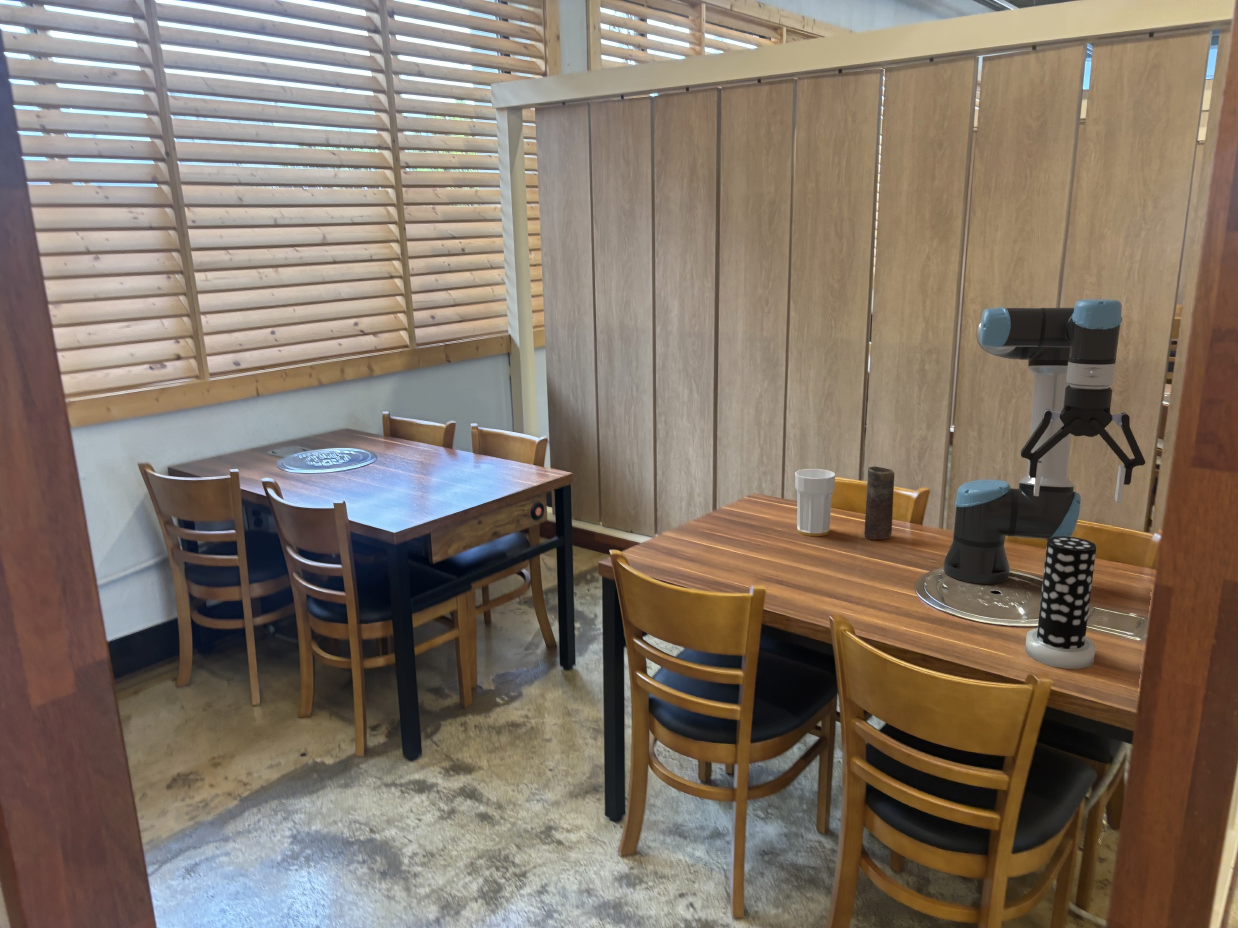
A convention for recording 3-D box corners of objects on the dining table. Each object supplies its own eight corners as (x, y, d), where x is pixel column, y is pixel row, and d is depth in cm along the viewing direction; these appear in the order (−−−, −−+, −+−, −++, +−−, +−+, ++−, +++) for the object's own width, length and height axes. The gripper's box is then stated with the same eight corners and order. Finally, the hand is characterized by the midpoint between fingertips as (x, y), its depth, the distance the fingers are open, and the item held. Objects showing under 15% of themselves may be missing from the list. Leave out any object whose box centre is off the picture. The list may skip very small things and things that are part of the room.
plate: (1026, 662, 160) (1027, 647, 160) (1024, 637, 171) (1025, 622, 170) (1096, 673, 155) (1098, 658, 155) (1090, 646, 166) (1092, 632, 165)
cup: (837, 537, 235) (839, 478, 231) (797, 537, 235) (799, 478, 231) (828, 524, 246) (830, 468, 242) (789, 525, 246) (791, 469, 242)
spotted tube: (1028, 631, 166) (1038, 537, 161) (1067, 629, 167) (1078, 535, 162) (1052, 650, 158) (1063, 551, 153) (1094, 647, 159) (1106, 549, 154)
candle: (869, 531, 239) (873, 464, 234) (895, 535, 235) (899, 467, 230) (860, 538, 233) (863, 469, 228) (886, 543, 229) (890, 473, 224)
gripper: (1013, 386, 152) (1003, 496, 157) (1173, 391, 142) (1157, 509, 147) (1013, 380, 159) (1003, 486, 164) (1165, 385, 149) (1150, 498, 154)
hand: (1076, 497), depth 156 cm, fingers open, 13 cm apart
